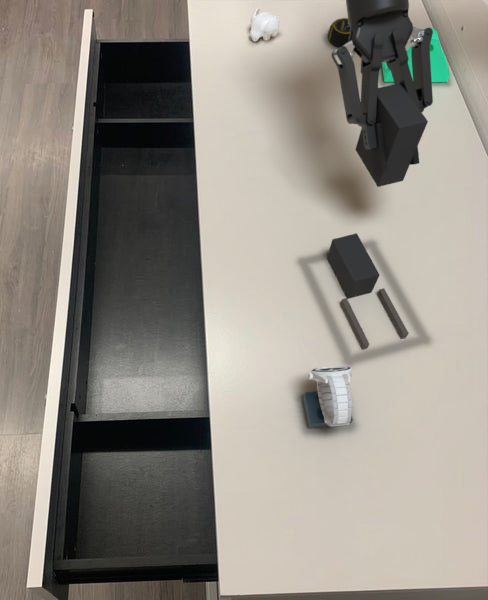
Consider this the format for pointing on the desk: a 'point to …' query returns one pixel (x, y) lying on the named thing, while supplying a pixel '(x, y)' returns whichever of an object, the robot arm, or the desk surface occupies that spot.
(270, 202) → the desk surface
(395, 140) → the block
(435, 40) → the camera mount
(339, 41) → the tape measure
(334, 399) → the watch
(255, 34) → the elephant figurine
